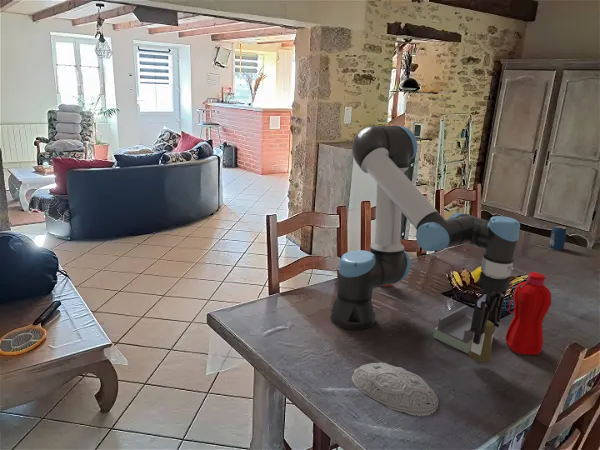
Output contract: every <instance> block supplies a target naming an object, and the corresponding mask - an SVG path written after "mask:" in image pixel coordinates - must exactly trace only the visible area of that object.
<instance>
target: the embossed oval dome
mask: <svg viewBox="0 0 600 450" xmlns="http://www.w3.org/2000/svg"><path fill="white" fill-rule="evenodd" d="M351 382H352V384H353V386H355V388H356V389H358V390H359V391H360V392H361V393H363V394H364V395H366V396H367V397H369V398H371V399H372V398H373V399H372V400H375V401H376V402H378V403H380V404H382V405H384V406H385V407H387V408H388V409H391V410H394V411H399V412H401V413H403V412H404V413H406V414H408V415H411V416H416V415H417V416H418V417H424V416H430V415H432V414H434V413H436V411H437V410H438V409H439V403H440V402H439V398H438V396H437V394H436V393H435V392H434V390H433V389H432V388H431V386H430V385H429V384H428V383H427V382H426V381H425V380H424V379H423V378H422V377H420V376H419V375H417V374H416V373H413V372H411V371H408V370H406V369H405V368H403V367H401V366H400V367H399V366H395V365H391V364H388V363H385V362H371V363H367V364H363V365H360V366H359V367H358V368H356V369H354V372H353V374H352V376H351ZM436 409H437V410H436ZM433 412H434V413H433ZM431 413H432V414H431ZM421 415H422V416H421Z"/></svg>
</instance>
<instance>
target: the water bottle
mask: <svg viewBox="0 0 600 450" xmlns="http://www.w3.org/2000/svg"><path fill="white" fill-rule="evenodd" d="M545 279H546V280H547V278H546V276H545V275H544V274H542V273H540V272H537V271H532V272H529V273H528V276H527V279H526V281H523V282H520V283H518V284H517V286H516V288H515V290H514V293H513V296H512V298H511V300H510V302H509V305H508V309H510V307H511V304H512V302H514V308H513V310H512V311H510V310H508V312H509V313H510V314H513V313H514V315H513V318H512V320H511V322H510V324H509V326H508V328H507V332H506V334H505V342H506V345H507V346H508V347H509V349H510V350H511V351H512V352H513V353H515V354H518V355H528V356H531V355H532V356H537V355H539V354H540V353H541V352H542V350H543V345H544V333H543V332H544V331H543V324H544V323H543V322H544V319H545V316H546V314H547V313H548V311H549V310H550V307H551V305H552V293H551V291H550V289H549V288H548V287H547V286H546V285H545V284H544V283H545Z"/></svg>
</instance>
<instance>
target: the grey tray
mask: <svg viewBox="0 0 600 450" xmlns="http://www.w3.org/2000/svg"><path fill="white" fill-rule="evenodd" d="M467 311H468V305H465V304H464V305H463V306H461V307H458V308H457V309H455V310H453V311H451V312H450V313H447V314H446V315H443V316H442V317H440V318H439V319H438V323H437V326H436V327H434V329H433V334H432V335H433V336H432V338H434V339H436V340H438V341H441V342H442V343H444V344H446V345H449V346H451V347H453V348H455V349H457V350H459V351H462V352H463V353H466V354H469V350H470V347H471V344H472V341H473V335H474V332H472V331H470V329H471V323H472V318H473V317H471V316H468V315H467V313H468V312H467Z"/></svg>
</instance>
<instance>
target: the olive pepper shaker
mask: <svg viewBox="0 0 600 450" xmlns="http://www.w3.org/2000/svg"><path fill="white" fill-rule="evenodd" d="M495 331H496V326H495V325H494V324H493V323H492V322H491V321H489V320H487V323H486V326H485V329H484V332H483V333H485V336H484V341H483V346H482V351H481V354H480V355H478V354H476V353H474V352H472V351H471V347H470V350H469V353H468V356H469V357H470V358H471V359H473V360H474V361H476V362H481V363H487V362H490V361H491V359H492V345H491V343H492V344H493V340H492V334H493V333H494V334H495ZM471 346H472V344H471Z"/></svg>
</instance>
